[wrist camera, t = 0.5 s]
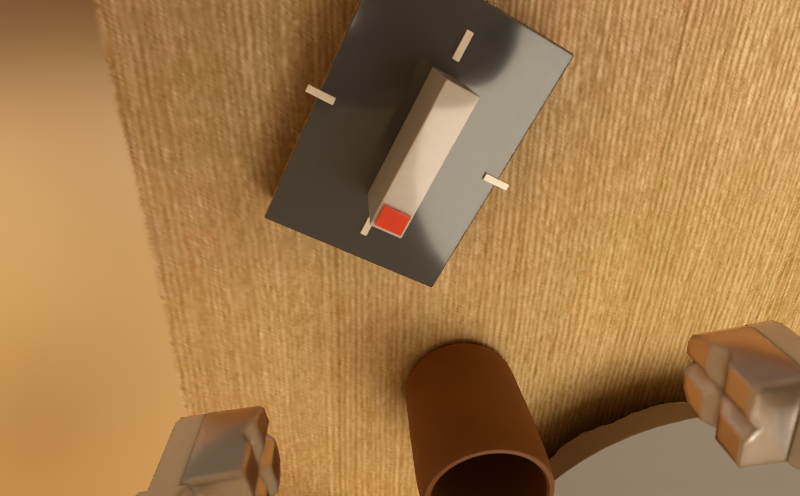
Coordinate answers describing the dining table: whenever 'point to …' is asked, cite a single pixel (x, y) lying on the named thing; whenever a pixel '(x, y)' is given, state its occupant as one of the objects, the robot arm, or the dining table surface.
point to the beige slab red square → (419, 151)
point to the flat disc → (662, 460)
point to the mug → (473, 427)
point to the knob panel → (386, 113)
